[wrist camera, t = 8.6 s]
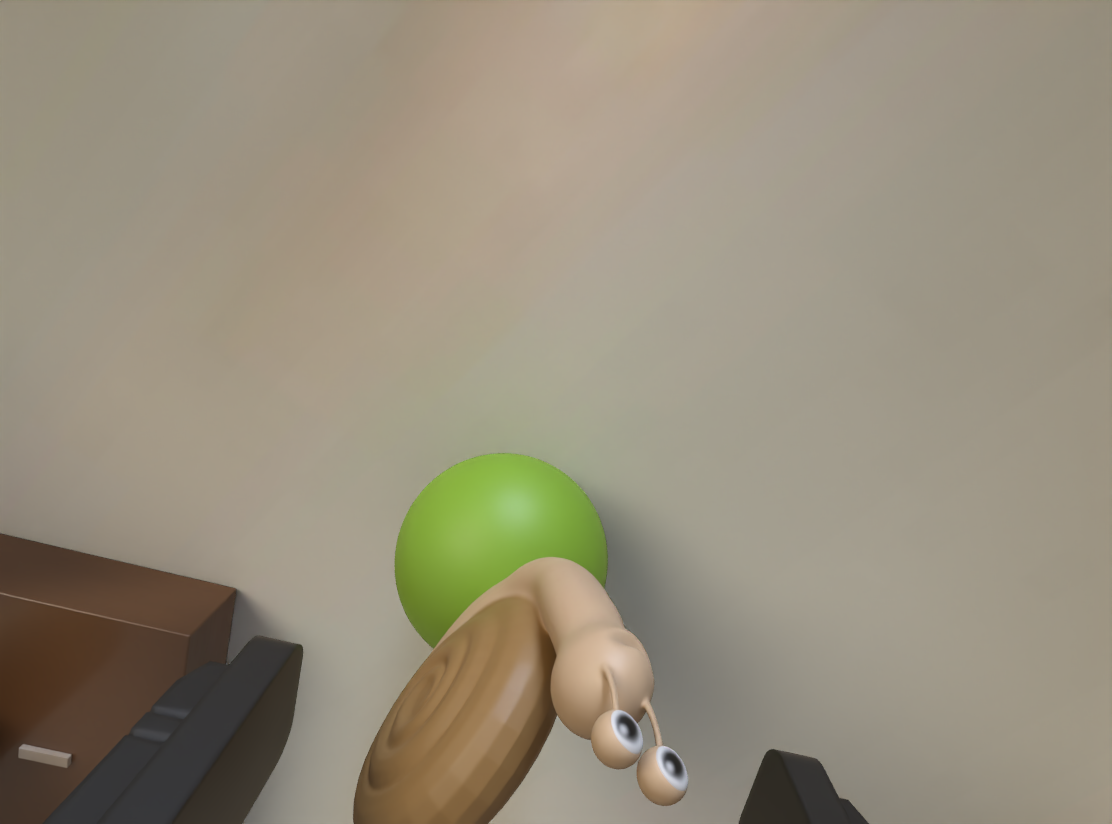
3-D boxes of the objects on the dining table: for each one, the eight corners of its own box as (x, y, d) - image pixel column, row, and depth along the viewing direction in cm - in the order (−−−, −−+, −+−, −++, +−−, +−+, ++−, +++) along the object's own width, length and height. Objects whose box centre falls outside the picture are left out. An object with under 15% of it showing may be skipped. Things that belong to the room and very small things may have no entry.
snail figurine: (661, 488, 18) (845, 907, 6) (518, 626, 19) (450, 1193, 8) (526, 366, 17) (453, 592, 5) (385, 519, 18) (78, 971, 7)
